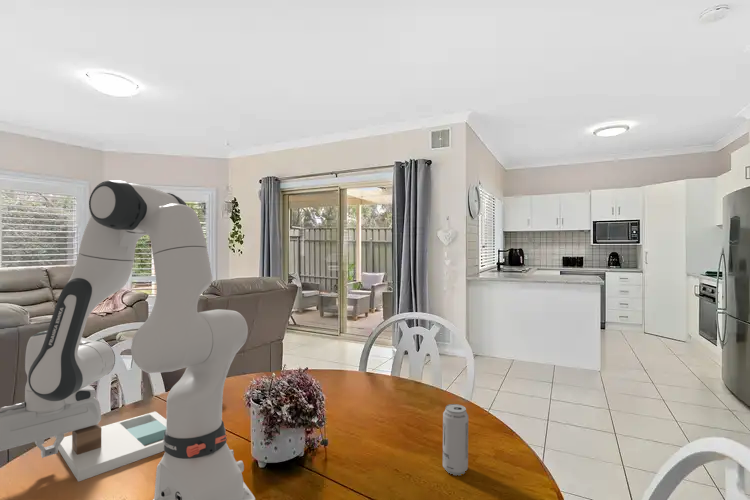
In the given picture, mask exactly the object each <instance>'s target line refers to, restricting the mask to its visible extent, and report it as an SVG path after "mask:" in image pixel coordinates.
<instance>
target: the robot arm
mask: <svg viewBox="0 0 750 500" xmlns="http://www.w3.org/2000/svg"><path fill="white" fill-rule="evenodd" d="M88 208H89V212H90V215H91V216H90V217H89V220H88V222H87V224H86V227H85V228H84V232H83V234H82V238H81V241H80V245H79V250H78V254H77V258H76V263H75V266H74V268H73V271H72V273H71V275H70V277H69V280H68V281H67V282H66V284H65V285H64V287H63V288H62V290H61V292H60V294H59V296H58V299H57V301H56V304H55V307H54V310H53V312H52V316H51V318H50V322H49V325H48V329H47V330H43V331H40V332H39V331H38V332H36V333H34V334H33V335H32V336H30V337H29V339H28V341H27V345H26V347H25V349H26V350H25V360H24V365H25V366H24V370H25V374H26V376H27V380H26V384H25V387H24V401H23V402H20V403H16V404H15V403H14V404H12V405H8V406H2V407H0V452H3V451H5V450H9V449H13V448H14V449H15V448H18V447H21V446H24V445H28V444H31V443H34V444H35V445H36V447H37V448H38V449H39V450H40V456H41V458H42V459H43V458H47V457H50V456H53V455H57V454H58V453H59V450H58V446H59V445H60V443H61V442H62V440H63V438H64V437H65V434H67V433H72V431H75V430H79V429H82V428H86V427H90V426H93V425H97V424H98V425H99V423H100V422H101V420H102V412H101V411H102V410H101V405H100V402H99V400H98V399H97V398H96V395H97V391H96V389H95V388H94V386H92V385H91V384H94V383H95V382H96V381H99V380H102V379H103V378H104V377H106V376H107V375H109V374H110V373H111V372H112V371H113V369H114V367H115V364H116V354H115V351H114V350H113V348H112V346H110V345H109V344H108V343H106V342H105V341H100V340H93V339H89V338H86V337H83V334H84V331H85V329H86V328H85V327H86V326H87V321H88V318H89V317H90V315H91V314H92V312H93V310H94V309H96V307H97V306H98V305H99V304H102V302H104V300H106V299H108V298H109V297H110V296H112V295H114V294H116V293H117V292H119V291H120V290H122V289H123V288H124V286H125V285H127V282H128V280H129V278H130V276H131V274H132V270H133V264H134V259H135V253H136V247H137V243H138V242H139V240H140V239H141V238H143V237H145V236H148V237H149V239H150V243H151V252H152V258H153V266H154V273H155V274H154V275H155V282H156V283H155V284H156V294H155V295H156V296H155V300H154V304H153V307H152V309H151V312H150V314H149V316H148V317H147V319H146V320H145V321H144V323H143V324H142V325H141V326H140V327H138V329H137V330H136V332H135V333H134V335H133V337H132V340H131V344H130V345H131V346H130V353H131V358H132V360H133V362H134V364H135V365H136V366H137V367H138V368H139V369H140V370H141V371H143V372H144V373H146V374H147V373H148V374H157V373H159V374H160V373H169V372H175V371H178V370H182V369H185V370H184V373H183V374H182V376H181V377H180V379H179V380H178V381H177V382H176V383H175V384H174V385H173V386H172V387H171V389H169V392H168V394H167V397H166V419H167V422H166V430H165V432H164V438H163V439H162V440H163V443H164V450H165V451H164V454H163V456H162V457H161V460H160V461H159V463H158V464H157V466H156V472H155V483H154V485H155V486H154V498H153V499H152V500H256V497H255V495H254V494H253V492H252V491H251V489H249V487H248V486H247V484H246V483H245V482H244V477H243V474H242V473H243V472H244V470H245V465H244V462H243V460H238V461H237V460H236V459H235V455H234V454H235V453H234V449H230V448H229V446H228V444H227V439H228V438H227V436H228V435H227V434H226V430H227V429H226V427H225V424H224V421H223V399H224V397H223V396H224V388H225V384H226V383H225V382H226V378H227V377H228V373H229V371H230V367H231V365H232V363H233V361H234V359H235V357H236V356H237V354H238V352H239V351H240V349H241V348H242V347H243V346H244V345H245V343H246V341H247V339H248V335H249V326H248V322H247V321H246V318H245V317H244V316H243V315H242V314H241V313H240V312H238V311H236V310H232V309H221V308H220V309H218V308H217V309H211V310H204V311H199V312H198V303H199V299H200V297H201V295H202V294H203V293H204V292H206V291H207V290H208V289H209V288H210V286H211V285H212V281H213V275H212V268H211V263H210V257H209V253H208V246H207V242H206V238H205V234H204V231H203V227H202V225H201V222H200V219H199V216H198V214H197V212H196V211H195V210H194V209H193V208H192V207H190V206H189V205H187V203H186V202H185V201H184V200H183V199H182V198H181V197H179V196H177V195H175V194H174V193H171V192H164V191H163V190H160V189H157V188H153V187H151V186H148V185H145V184H138V183H129V182H127V181H123V180H114V179H113V180H106V181H102V182H100V183H98V184H97V185H96V186H95V187H94V189H93V190H92V192H91V193H90V196H89V200H88ZM52 437H54V438H55V440H54V442H53V444H52V445H48V446H44V445H43V444H45V439H46V440H47V439H50V438H52Z"/></svg>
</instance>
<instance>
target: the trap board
mask: <svg viewBox="0 0 750 500" xmlns="http://www.w3.org/2000/svg"><path fill="white" fill-rule="evenodd" d="M166 422H167V418H165V417H164V416H162V415H161V414H160V413H158V412H157V411H151V412H149V413H145V414H142V415H139V416H135V417H130V418H127V419H123V420H120V421H116V422H113V423H109V424H106V425H103V426H102V425H101V426H100V427H101V448H98V449H94V450H91V451H88V452H85V453H82V454H79V455H77V454H76V453H75V451H74V450H73V448H72V434H71V435H68V436H64V438H63V440H62V442H61V443H60V445H59V446H58V453H60V455H61V456H62V458H63V460H64V461H65V463H66V465H67V466H68V468H69V469H70V471H71V472H72V474H73V476H74V477H75V479H76V480H77V482H81V481H84V480H87V479H89V478H92V477H95V476H98V475H101V474H104V473H107V472H109V471H112V470H115V469H118V468H121V467H124V466H126V465H129V464H132V463H134V462H138V461H140V460H143V459H145V458H149V457H151V456H154V455H157V454H160V453H162V452H165V450H164V443H163V438H164V432H165V430H166Z"/></svg>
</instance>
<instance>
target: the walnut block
mask: <svg viewBox="0 0 750 500" xmlns="http://www.w3.org/2000/svg"><path fill="white" fill-rule="evenodd" d="M101 427H102V426H101V425H99V423H98V424H97V425H93V426H90V427H86V428H82V429H79V430H75V431H72V432H71V433H72V434H71V435H72V448H73V450H74V451H75V453H76V454H77V455H79V454H82V453H85V452H88V451H91V450H94V449H98V448H101Z"/></svg>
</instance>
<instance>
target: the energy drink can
mask: <svg viewBox="0 0 750 500" xmlns="http://www.w3.org/2000/svg"><path fill="white" fill-rule="evenodd" d="M442 467H443V469H444V470H446V471H447V472H448V474H449V473H450V474H449V475H451V474H453V475H452V476H457V475H458V476H462V475H461V474H463V475H464V474H465V473H466V472H465V471H467V470H469V414H468V413H467V408H466V407H465V406H464V405H462V404H458V403H457V404H456V403H451V404H447V405H446V406H445V409H444V411H443V412H442ZM446 471H445V472H446ZM447 472H446V473H447Z"/></svg>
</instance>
